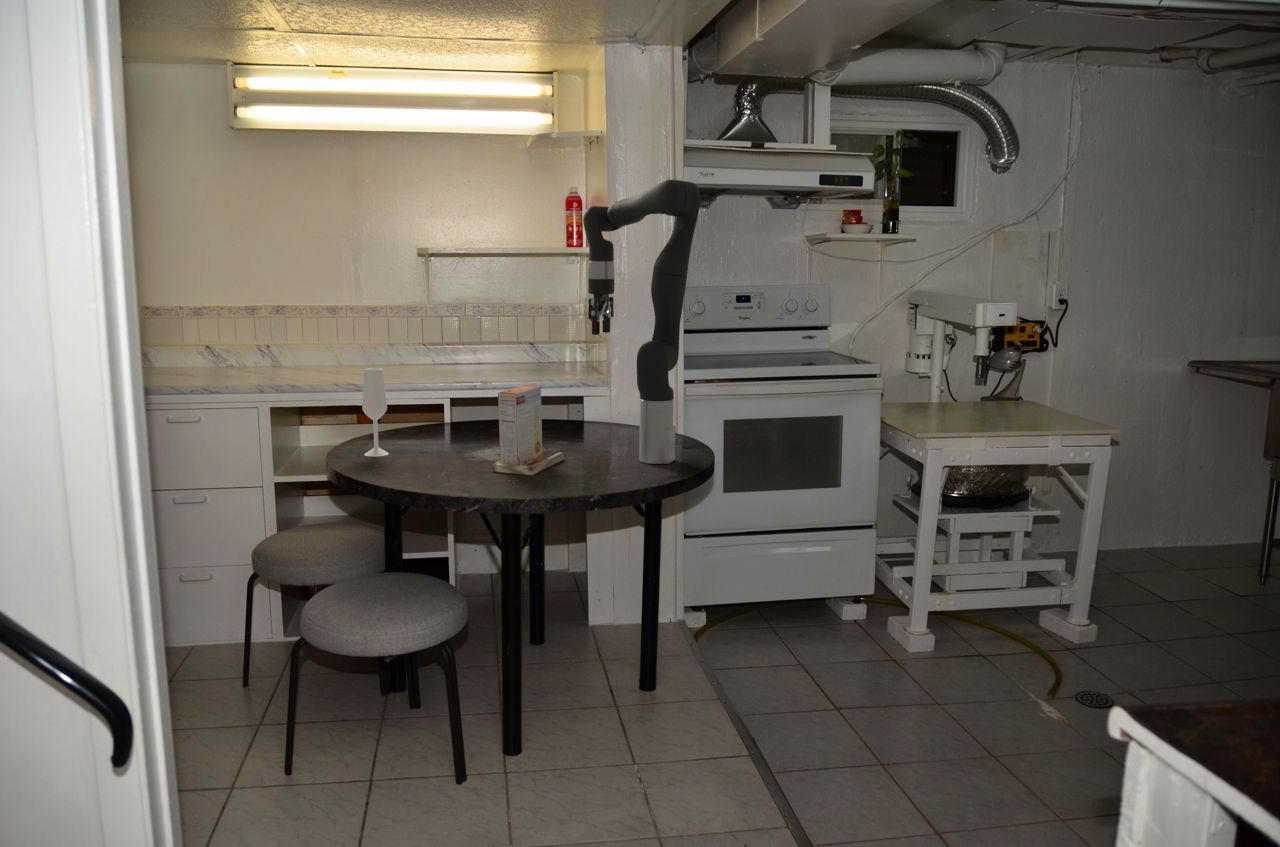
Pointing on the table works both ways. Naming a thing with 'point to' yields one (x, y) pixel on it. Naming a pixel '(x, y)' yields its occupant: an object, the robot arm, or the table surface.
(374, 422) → the champagne flute
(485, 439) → the table surface
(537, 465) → the outline frame
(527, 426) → the cracker box
